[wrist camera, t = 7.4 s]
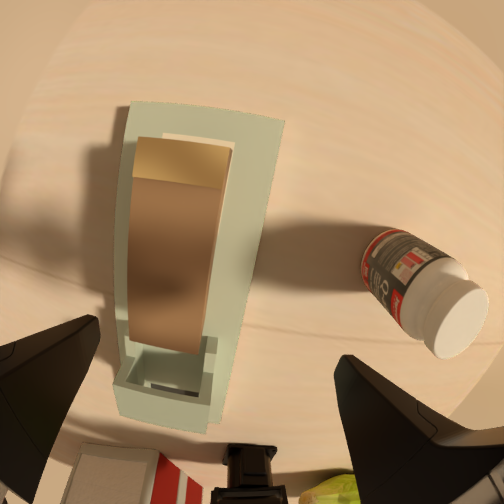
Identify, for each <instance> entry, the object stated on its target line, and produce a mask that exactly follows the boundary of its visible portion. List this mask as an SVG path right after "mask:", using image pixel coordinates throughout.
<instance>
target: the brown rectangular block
mask: <svg viewBox="0 0 504 504" xmlns="http://www.w3.org/2000/svg"><path fill="white" fill-rule="evenodd" d="M232 152H233V150H232V149H231V148H230V147H224V146H218V145H211V144H204V143H197V142H190V141H181V140H173V139H163V138H152V137H140V136H138V140H137V146H136V152H135V159H134V166H133V173H132V177H133V185H132V195H131V205H130V217H129V232H128V256H127V303H128V326H129V340H130V341H134V342H138V343H142V344H146V345H150V346H155V347H159V348H164V349H169V350H174V351H179V352H184V353H189V354H195V355H198V353H199V347H200V342H201V337H202V332H203V327H204V322H205V315H206V308H207V300H208V293H209V286H210V279H211V273H212V266H213V260H214V253H215V247H216V241H217V235H218V229H219V223H220V217H221V211H222V205H223V200H224V194H225V188H226V183H227V178H228V172H229V167H230V162H231V157H232Z"/></svg>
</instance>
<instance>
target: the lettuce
mask: <svg viewBox="0 0 504 504" xmlns="http://www.w3.org/2000/svg"><path fill="white" fill-rule="evenodd" d="M299 504H361V503H360V498H359V493H358V488H357V484H356V479H355V475H348V474H342V475H338V476H335V477H332V478H330V479H327V480H325V481H324V482H322V483H320V484H319V485H317V486H316V487H314V488H311V489H309V490H306V491H304V492H302V494H301V496H300V498H299Z"/></svg>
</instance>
